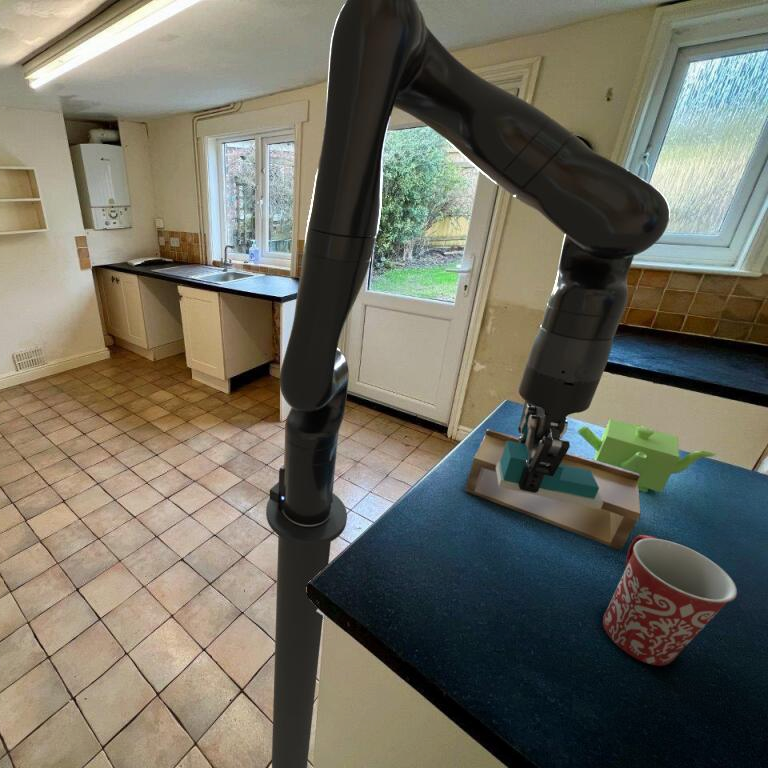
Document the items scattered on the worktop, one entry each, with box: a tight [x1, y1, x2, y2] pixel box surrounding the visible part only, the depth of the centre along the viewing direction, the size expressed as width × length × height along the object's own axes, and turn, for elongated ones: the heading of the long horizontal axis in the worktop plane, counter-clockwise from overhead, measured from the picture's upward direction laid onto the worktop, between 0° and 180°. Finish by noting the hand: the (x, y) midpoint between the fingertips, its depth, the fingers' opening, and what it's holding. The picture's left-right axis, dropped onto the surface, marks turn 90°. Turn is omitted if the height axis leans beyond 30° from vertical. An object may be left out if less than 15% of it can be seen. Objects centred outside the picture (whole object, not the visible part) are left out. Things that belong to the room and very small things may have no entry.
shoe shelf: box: [464, 428, 641, 551], centre depth 76 cm, size 24×11×9 cm, turn 52°
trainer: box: [496, 441, 604, 509], centre depth 56 cm, size 12×5×5 cm, turn 67°
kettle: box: [577, 418, 718, 493], centre depth 83 cm, size 15×14×11 cm
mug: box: [602, 534, 738, 666], centre depth 53 cm, size 13×9×14 cm
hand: (524, 477), depth 58 cm, fingers closed on trainer, 4 cm apart
